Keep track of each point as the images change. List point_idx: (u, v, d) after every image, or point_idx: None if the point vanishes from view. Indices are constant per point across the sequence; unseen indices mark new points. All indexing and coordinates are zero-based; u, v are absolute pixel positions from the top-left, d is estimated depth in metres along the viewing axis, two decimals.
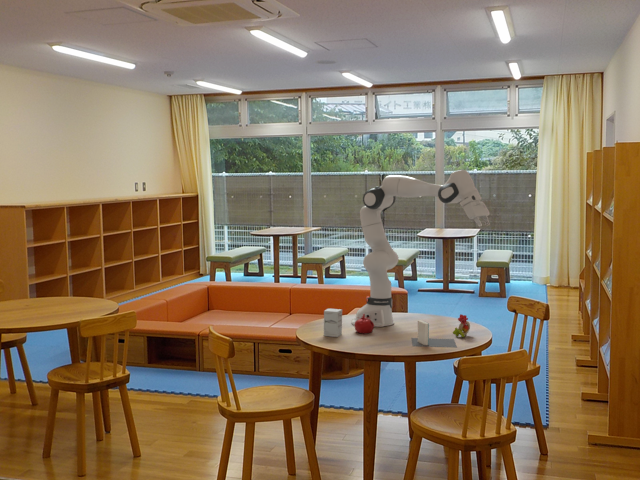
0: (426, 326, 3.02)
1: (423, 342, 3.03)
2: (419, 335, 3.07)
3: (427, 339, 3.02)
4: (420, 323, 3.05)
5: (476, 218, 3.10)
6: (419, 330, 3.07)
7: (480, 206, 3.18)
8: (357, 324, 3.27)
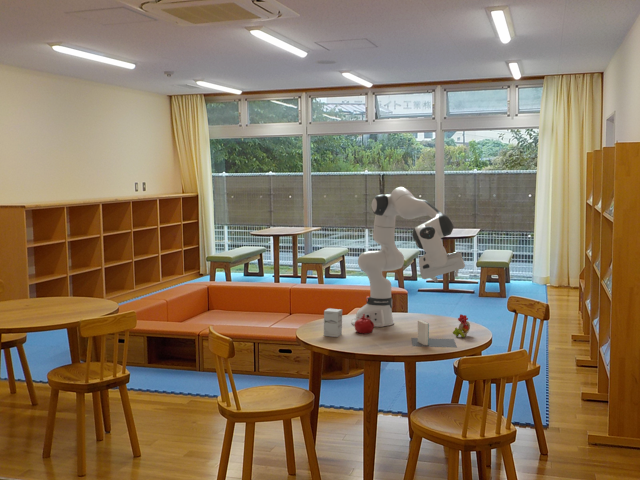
0: (426, 326, 3.02)
1: (423, 342, 3.03)
2: (419, 335, 3.07)
3: (427, 339, 3.02)
4: (420, 323, 3.05)
5: None
6: (419, 330, 3.07)
7: (446, 264, 2.96)
8: (357, 324, 3.27)
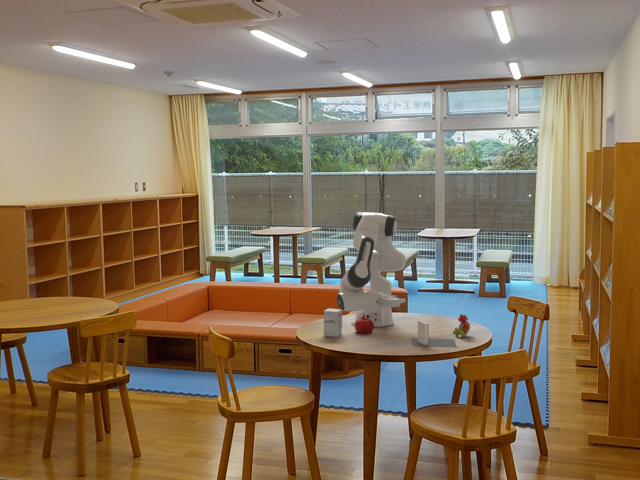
0: (426, 326, 3.02)
1: (423, 342, 3.03)
2: (419, 335, 3.07)
3: (427, 339, 3.02)
4: (420, 323, 3.05)
5: None
6: (419, 330, 3.07)
7: None
8: (357, 324, 3.27)
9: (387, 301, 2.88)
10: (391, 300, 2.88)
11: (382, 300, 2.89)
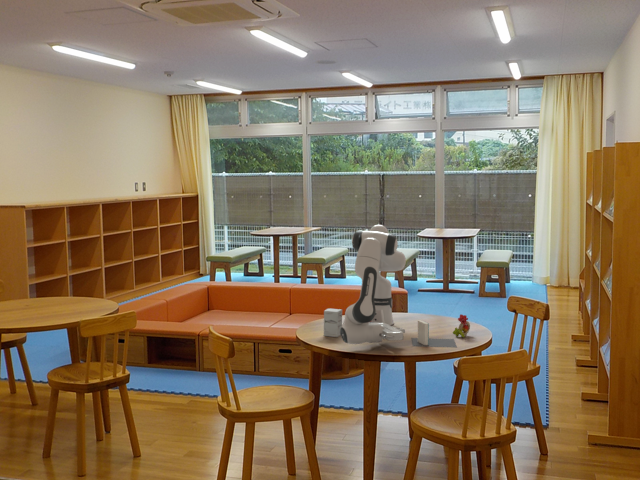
0: (426, 326, 3.02)
1: (423, 342, 3.03)
2: (419, 335, 3.07)
3: (427, 339, 3.02)
4: (420, 323, 3.05)
5: None
6: (419, 330, 3.07)
7: None
8: None
9: (390, 334, 2.90)
10: (394, 333, 2.90)
11: (385, 333, 2.92)
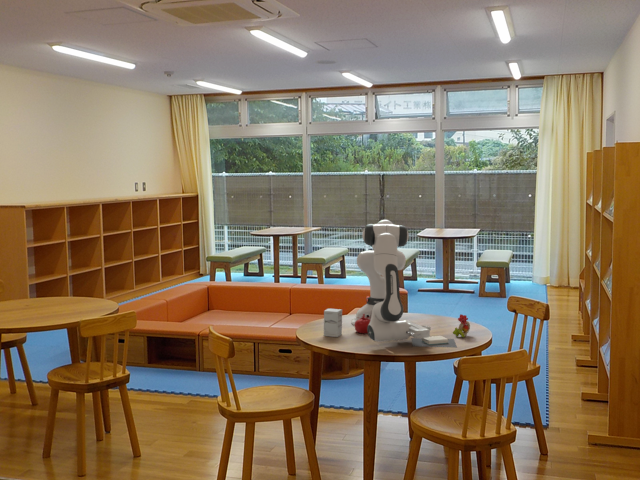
0: (445, 341, 3.05)
1: (429, 339, 3.04)
2: (430, 337, 3.09)
3: (433, 343, 3.04)
4: (442, 337, 3.10)
5: None
6: (434, 337, 3.09)
7: None
8: (357, 324, 3.27)
9: (417, 332, 2.94)
10: (421, 331, 2.94)
11: (412, 331, 2.96)
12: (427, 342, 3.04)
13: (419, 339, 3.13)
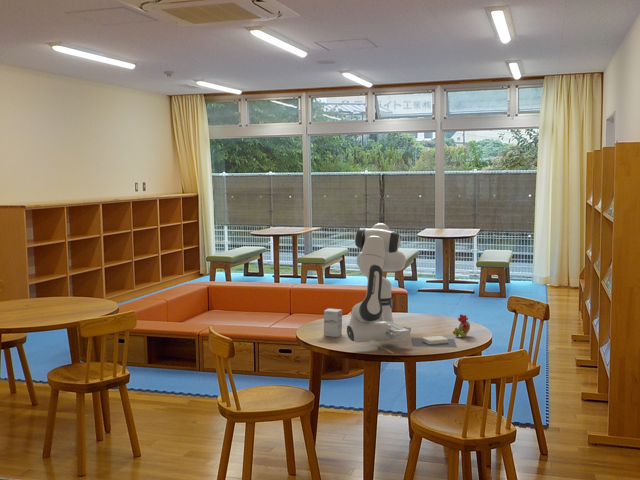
0: (445, 341, 3.05)
1: (429, 339, 3.04)
2: (430, 337, 3.09)
3: (433, 343, 3.04)
4: (442, 337, 3.10)
5: None
6: (434, 337, 3.09)
7: None
8: None
9: (397, 332, 2.90)
10: (401, 331, 2.90)
11: (392, 331, 2.92)
12: (427, 342, 3.04)
13: (419, 339, 3.13)
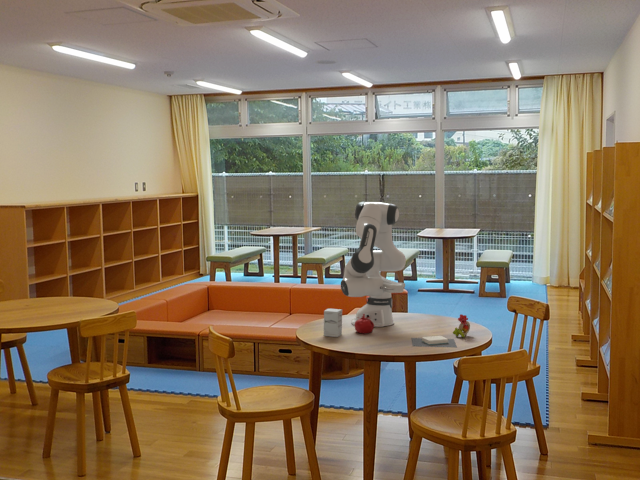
0: (445, 341, 3.05)
1: (429, 339, 3.04)
2: (430, 337, 3.09)
3: (433, 343, 3.04)
4: (442, 337, 3.10)
5: None
6: (434, 337, 3.09)
7: None
8: (357, 324, 3.27)
9: (391, 287, 2.91)
10: (395, 286, 2.91)
11: (386, 286, 2.93)
12: (427, 342, 3.04)
13: (419, 339, 3.13)
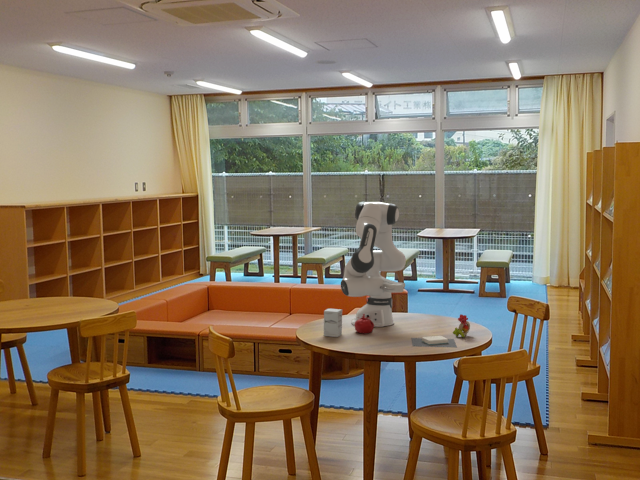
0: (445, 341, 3.05)
1: (429, 339, 3.04)
2: (430, 337, 3.09)
3: (433, 343, 3.04)
4: (442, 337, 3.10)
5: None
6: (434, 337, 3.09)
7: None
8: (357, 324, 3.27)
9: (391, 286, 2.91)
10: (395, 285, 2.91)
11: (386, 285, 2.93)
12: (427, 342, 3.04)
13: (419, 339, 3.13)
